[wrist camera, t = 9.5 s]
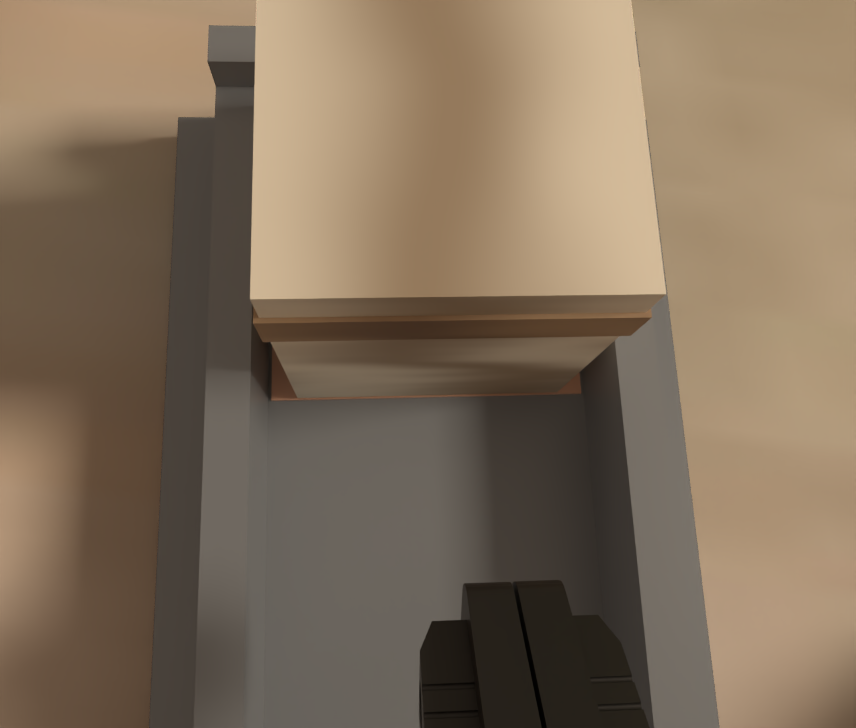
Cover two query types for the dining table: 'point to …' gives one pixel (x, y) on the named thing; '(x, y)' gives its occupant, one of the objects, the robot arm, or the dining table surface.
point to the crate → (448, 193)
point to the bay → (390, 494)
